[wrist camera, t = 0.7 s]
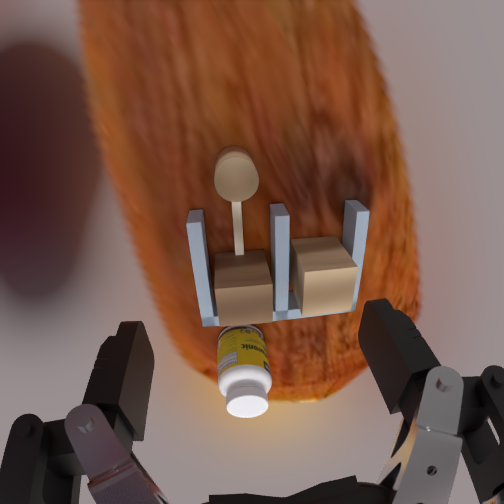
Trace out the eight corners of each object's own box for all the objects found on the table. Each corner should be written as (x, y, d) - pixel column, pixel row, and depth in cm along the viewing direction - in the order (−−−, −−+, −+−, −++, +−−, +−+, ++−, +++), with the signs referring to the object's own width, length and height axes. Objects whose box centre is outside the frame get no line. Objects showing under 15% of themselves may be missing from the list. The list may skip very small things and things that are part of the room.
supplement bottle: (273, 338, 36) (287, 406, 27) (239, 360, 37) (244, 427, 29) (242, 313, 34) (250, 384, 25) (207, 338, 35) (206, 408, 26)
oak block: (290, 239, 30) (304, 272, 25) (335, 235, 30) (357, 266, 25) (289, 279, 32) (302, 316, 27) (331, 275, 32) (350, 310, 27)
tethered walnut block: (205, 147, 25) (200, 162, 20) (259, 144, 25) (270, 157, 20) (219, 287, 32) (219, 326, 26) (264, 283, 32) (272, 322, 27)
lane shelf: (189, 210, 28) (186, 223, 25) (356, 199, 28) (369, 211, 26) (203, 308, 33) (202, 326, 30) (345, 294, 34) (354, 310, 31)
